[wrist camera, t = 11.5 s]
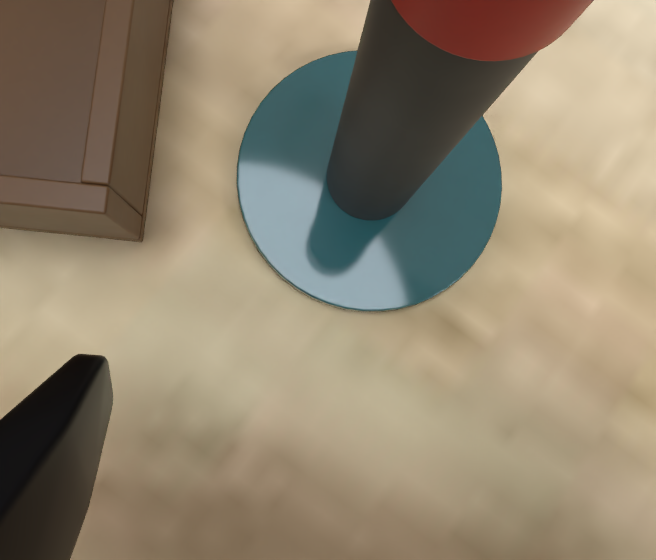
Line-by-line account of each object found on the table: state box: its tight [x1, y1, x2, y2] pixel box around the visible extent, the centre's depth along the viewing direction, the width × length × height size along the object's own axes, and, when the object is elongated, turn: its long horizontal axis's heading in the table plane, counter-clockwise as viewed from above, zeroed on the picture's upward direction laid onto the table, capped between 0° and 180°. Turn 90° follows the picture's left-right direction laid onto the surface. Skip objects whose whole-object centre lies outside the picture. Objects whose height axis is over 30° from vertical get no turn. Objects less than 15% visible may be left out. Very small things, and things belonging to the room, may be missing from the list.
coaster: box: [237, 51, 502, 312], centre depth 19 cm, size 8×8×1 cm
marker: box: [327, 0, 594, 220], centre depth 12 cm, size 3×3×14 cm
